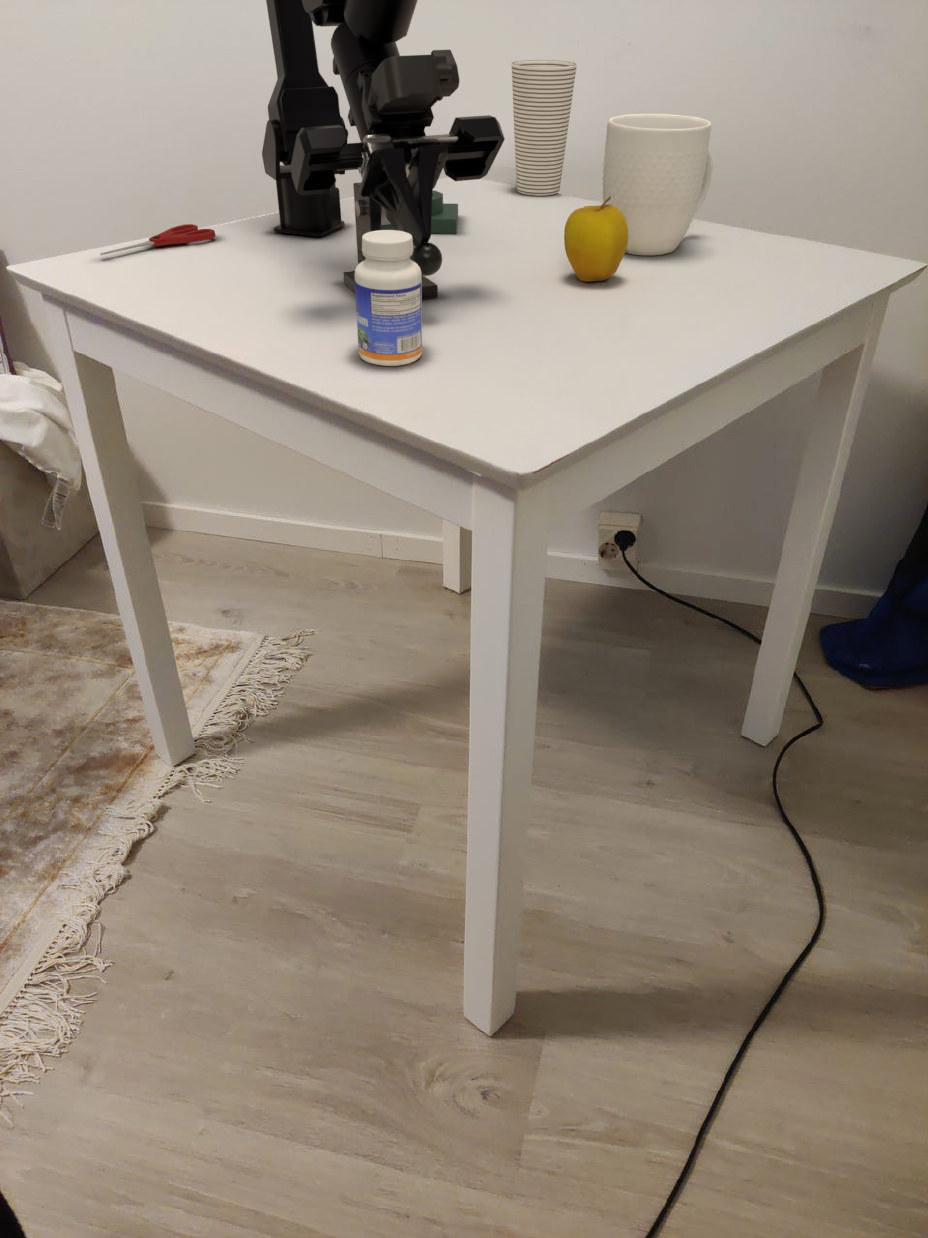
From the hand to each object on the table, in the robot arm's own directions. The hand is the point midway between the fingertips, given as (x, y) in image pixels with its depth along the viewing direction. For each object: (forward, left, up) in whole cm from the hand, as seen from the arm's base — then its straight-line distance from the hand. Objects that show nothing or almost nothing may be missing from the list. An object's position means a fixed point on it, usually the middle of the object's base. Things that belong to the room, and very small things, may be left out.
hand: (425, 239), depth 84 cm
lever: (-4, +4, -2) cm, 6 cm away
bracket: (-7, +7, -7) cm, 12 cm away
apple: (+11, +18, -7) cm, 22 cm away
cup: (-7, +56, -7) cm, 57 cm away
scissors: (-38, +11, -7) cm, 41 cm away
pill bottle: (+1, -10, -7) cm, 12 cm away
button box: (-15, +32, -7) cm, 36 cm away
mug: (+14, +33, -7) cm, 37 cm away
